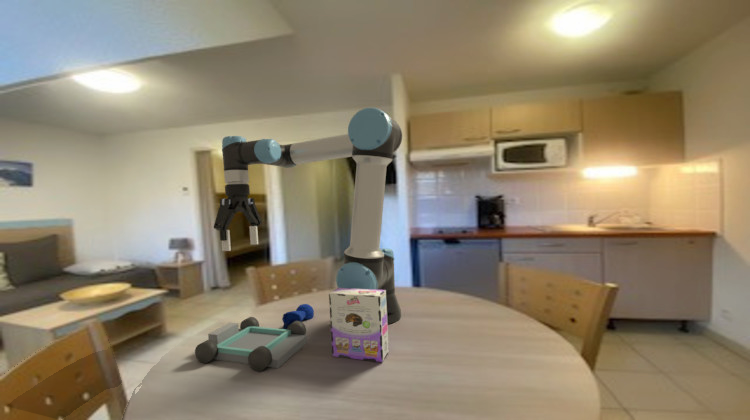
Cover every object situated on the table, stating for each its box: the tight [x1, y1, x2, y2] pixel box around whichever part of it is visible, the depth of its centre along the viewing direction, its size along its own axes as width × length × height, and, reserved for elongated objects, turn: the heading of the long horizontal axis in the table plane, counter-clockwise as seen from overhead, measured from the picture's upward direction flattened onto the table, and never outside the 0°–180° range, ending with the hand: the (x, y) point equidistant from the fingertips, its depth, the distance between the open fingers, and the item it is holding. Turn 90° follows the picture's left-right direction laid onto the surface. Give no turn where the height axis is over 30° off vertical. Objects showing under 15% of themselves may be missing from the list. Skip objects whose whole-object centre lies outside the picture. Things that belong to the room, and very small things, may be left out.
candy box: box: [328, 287, 390, 363], centre depth 83 cm, size 14×6×16 cm, turn 71°
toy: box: [281, 303, 315, 330], centre depth 106 cm, size 7×6×15 cm
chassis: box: [194, 316, 308, 372], centre depth 88 cm, size 24×19×5 cm
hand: (241, 247), depth 109 cm, fingers open, 13 cm apart
